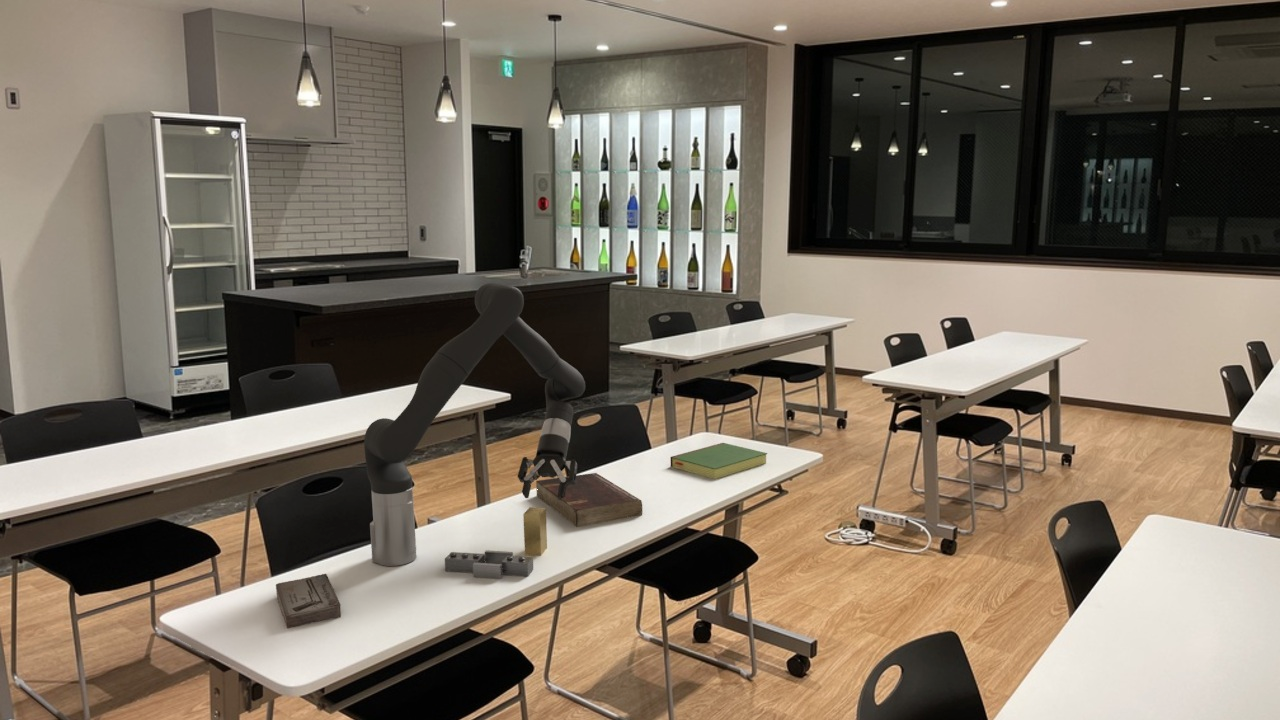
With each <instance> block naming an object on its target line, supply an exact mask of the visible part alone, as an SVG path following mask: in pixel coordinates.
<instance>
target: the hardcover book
mask: <svg viewBox="0 0 1280 720" xmlns="http://www.w3.org/2000/svg"><path fill="white" fill-rule="evenodd" d="M767 455H768V453H767V452H764V451H760V450H756V449H750V448H747V447H743V446H739V445H734V444H730V443H725V442H720V443H717V444H713V445H710V446H705V447H702V448H698V449H694V450H691V451H688V452H687V451H686V452H683V453H680V454H675V455H672V456H670V468H675V469H677V470H682V471H685V472H689V473H692V474H696V475H699V476H703V477H707V478H710V479H714V480H717V479H719V478H722V477H725V476H729V475H733V474H735V473H739V472H743V471H745V470H749V469H751V468H754V467H759V466H761V465H765V464H767Z"/></svg>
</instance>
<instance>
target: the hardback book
mask: <svg viewBox="0 0 1280 720" xmlns="http://www.w3.org/2000/svg"><path fill="white" fill-rule="evenodd" d="M564 477H565V479H566V478H569V476H564ZM535 481H536V483H535V484H536V497H538V498H539V499H540V500H541V501H542V502H544V503H545V504H546V505H548V506H549V507H550V508H551V509H553V510H554V511H556V512H557V513H558V514H559V515H561V516H562V517H564V518H565V519H566V520H567V521H568V522H570V523H571V524H572V525H574V526H575V527H576V528H579V527H585V526H589V525H590V526H591V525H596V524H602V523H607V522H612V521H619V520H622V519H629V518H630V519H631V518H633V517H639V516H643V501H642V500H641V499H640V498H638V496H637V497H636V496H635V495H633V494H631V493H630V492H629V491H626V489H623V488H621V487H620V486H619V485H616V484H615V483H613V482H612V481H610V480H608V479H607V478H605V477H603V476H602V475H600V474H598V473H597V472H592V473H585V474H578V475H577V474H576V482H575V484H574V485H568V486H567V488H566V494H565V497H564V498H562V500H559V499H558V497H557V495H558V490H559V485H560V483H561V481H560V480H559V478H558V477H554V478H547V479H540V480H535ZM537 489H538V490H537Z"/></svg>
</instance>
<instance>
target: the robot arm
mask: <svg viewBox="0 0 1280 720" xmlns="http://www.w3.org/2000/svg"><path fill="white" fill-rule="evenodd" d="M524 305H525V299H524V294H523V293H522V291H521V290H520V289H519V288H517V287H516V286H513V285H509V284H503V283H497V282H488V283H485V284H482V285H481V286H480V287H479V288H478V289H477V291H476V293H475V296H474V306H475V309H476V310H477V313H479V314H480V315H479V317H477V319H476V320H475V321H474V322H473V324H472V325H470V326H469V327H468V328H466V329H465V330H464V331H462V332H461V333H459V334H458V335H456V336H454V337H453V338H451V339H450V340H448V341H447V342H446V343H445V344H443V345H442V346H441V347H440V348H439V349H438V350H437V351H436V353H435V354H434V355H433V356H432V358H430V360H429V361H428V363H426V365H425V366H424V368H423V369H422V372H421V373H420V376H419V379H418V381H417V386H416V388H415V390H414V393H413V396H412V398H411V400H410V401H409V403H408V404H407V406H406V407H405V408H404V409H403V410H402V412H401V413H399V415H398V416H397V417H396V418H395V419H390V418H386V417H385V418H383V417H382V418H378V419H376V420H374V421H373V422H371V424H369V425H368V427H367V429H366V431H365V434H364V442H363V444H364V445H363V446H364V457H365V467H366V474H367V478H368V481H369V482H370V489H371V491H370V492H371V504H372V505H371V507H372V518H373V520H372V521H371V522H370V523H369V530H370V532H369V533H370V548H371V561H372V563H376V564H377V565H381V566H386V567H387V566H388V567H394V566H402V565H406V564H409V563H411V562H414V560H416V559H417V545H416V542H417V541H416V530H415V529H416V525H415V524H416V523H415V509H414V507H415V506H414V505H415V504H414V492H413V477H412V475H411V473H410V471H409V469H408V468H407V465H406V463H405V460H407V459H408V458H409V457H410V456H411V455H412V454H413V452H414V451H415V450H416V448H417V447H418V445H419V443H420V442H421V440H422V439H423V437H424V435H425V433H426V432H427V431H428V429H429V428H430V426H431V425H432V423H433V422H434V420H435V418H437V417H438V415H439V413H441V411H442V410H443V408H444V407H445V406H446V405H447V403H448V402H449V400H450V399H451V398H452V397H453V395H454V394H455V393H456V392H457V391H458V389H460V387H461V386H462V385H463V383H464V382H465V381H466V379H467V378H468V377H469V376H470V374H471V373H472V371H473V370H474V368H476V366H477V365H478V363H479V362H480V361H481V360H482V359H483V357H484V356H485V354H486V353H488V351H489V350H490V349H491V347H492V346H493V345H494V344H495V343H496V341H497V340H499V338H500V337H502V335H503V336H504V337H505V338H506V339H508V341H509V342H510V343H511V345H513V347H515V348H516V350H518V351H519V352H520V354H521V356H523V358H524V359H525V360H526V361H527V362H528V364H529V365H530V367H532V369H534V371H535V372H536V373H537V374H538V376H539V377H541V378H543V379H546V382H545V384H544V394H545V404H546V405H545V406H546V411H545V416H544V421H543V425H542V427H541V430H540V435H539V439H538V444H537V449H536V453H535V457H534V458H533V459H530V458H527V457H526V456H524V457H522V459H521V463H520V466H519V470H518V473H517V479H518V480H519V482H520V484H521V483H523V485H522V489H521V493H522V495H523V496H524V498H525V499H529V497H530V493H531V489H532V483H533V482H535V481H538V479H539V478H550V479H554V478H559V480H560V481H561V483H560V485H559V490H558V495H557V497H558V499H559V500H562V498H564V497H565V494H566V488H567V486H568V485H574V484H575V482H576V475H577V474H578V473H577V472H578V463H577V461H576V459H575V458H572V459H571V460H567V454H568V451H569V450H568V449H569V444H570V441H571V432H572V431H571V430H572V428H571V427H572V424H573V418H574V407H573V406H572V405H571V404H570V403H568V402H567V400H572V399H576V398H579V397H581V396H583V394H584V393H585V391H586V381H585V379H584V376H583V375H582V374H581V373H580V372H579V371H578V369H577V368H575V367H573V366H572V365H571V364H569V363H568V361H565V360H564V359H562V358H561V357H560V356H559V354H557V352H556V350H555V349H554V348H553V347H552V346H551V345H550V344H549V342H547V340H546V339H545V338H543V336H541V334H539V333H538V332H536V330H534V329H533V328H531V327H530V325H528V324H527V323H526V322H525V321H524V320H523V319H522V318H521V317H520V316H521V313H522V312H523V308H524ZM531 466H534V467H532V468H531ZM566 467H567V469H568V470H569V473H568V477H569V478H566V479H565V477H566V476H564V474H563V472H562V471H564V470H565V468H566ZM530 468H531V470H530V471H529V473H528V469H530Z"/></svg>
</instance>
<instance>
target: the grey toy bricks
mask: <svg viewBox="0 0 1280 720" xmlns="http://www.w3.org/2000/svg"><path fill="white" fill-rule="evenodd" d="M444 569H445V570H444V572H455V573H469V574H472V576H473V578H480V579H481V578H483V579H496V580H497V579H498V580H500V579H502V578H503V576H512V577H513V576H515V577H516V576H517V577H529V576H530V575H531V573H532V572H533V571H534V557H533V556H527V555H524V556H523V555H514V553H513V551H507V550H506V551H505V550H501V551H500V550H489V549H488V550H485V551H484V553H477V552H475V553H474V552H473V553H472V552H458V551H457V552H456V551H451V552H449V554H448V555H447V556H446V557H445V558H444Z"/></svg>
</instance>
